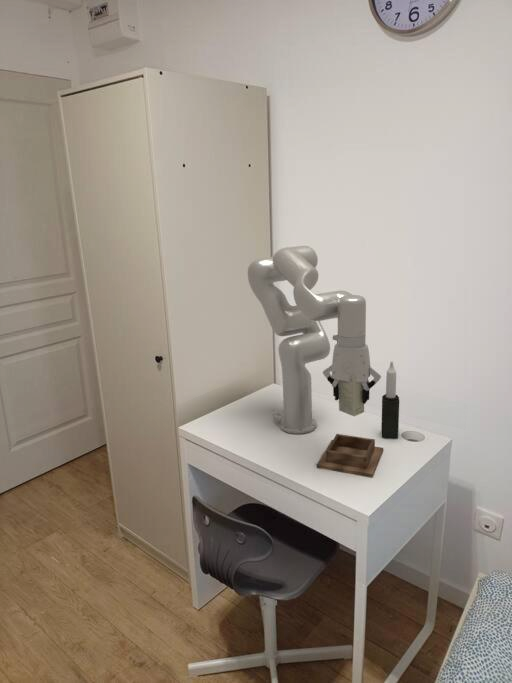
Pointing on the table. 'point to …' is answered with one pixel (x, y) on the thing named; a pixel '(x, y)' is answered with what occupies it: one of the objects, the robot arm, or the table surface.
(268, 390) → the table surface
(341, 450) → the tray
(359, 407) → the skincare box
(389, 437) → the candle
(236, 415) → the table surface
